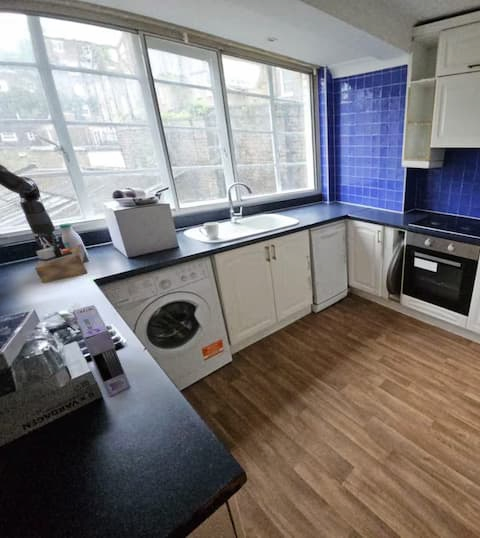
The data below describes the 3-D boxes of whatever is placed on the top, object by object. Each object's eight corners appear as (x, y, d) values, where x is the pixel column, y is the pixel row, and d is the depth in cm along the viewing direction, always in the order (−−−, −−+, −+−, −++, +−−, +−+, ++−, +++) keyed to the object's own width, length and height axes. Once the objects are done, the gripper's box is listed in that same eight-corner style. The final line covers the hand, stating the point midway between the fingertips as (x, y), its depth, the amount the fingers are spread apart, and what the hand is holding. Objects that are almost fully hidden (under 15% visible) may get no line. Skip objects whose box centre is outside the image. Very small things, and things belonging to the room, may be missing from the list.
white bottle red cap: (45, 261, 136) (41, 252, 135) (39, 261, 138) (34, 251, 136) (72, 253, 146) (68, 244, 144) (66, 253, 147) (62, 244, 146)
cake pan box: (134, 388, 74) (108, 329, 67) (109, 400, 70) (79, 340, 63) (117, 355, 86) (93, 303, 79) (95, 365, 82) (68, 310, 75)
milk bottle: (89, 255, 170) (74, 221, 162) (88, 258, 164) (74, 224, 156) (71, 258, 165) (55, 224, 157) (70, 262, 160) (54, 226, 152)
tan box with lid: (42, 283, 136) (32, 264, 132) (49, 268, 153) (40, 251, 149) (87, 273, 145) (79, 255, 141) (89, 260, 162) (82, 244, 158)
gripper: (19, 223, 134) (36, 258, 140) (40, 224, 130) (57, 260, 137) (39, 219, 140) (55, 253, 147) (60, 220, 137) (75, 255, 143)
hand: (56, 256), depth 142 cm, fingers closed on white bottle red cap, 4 cm apart
